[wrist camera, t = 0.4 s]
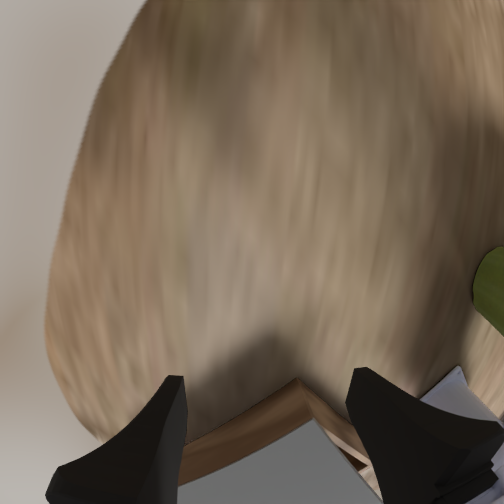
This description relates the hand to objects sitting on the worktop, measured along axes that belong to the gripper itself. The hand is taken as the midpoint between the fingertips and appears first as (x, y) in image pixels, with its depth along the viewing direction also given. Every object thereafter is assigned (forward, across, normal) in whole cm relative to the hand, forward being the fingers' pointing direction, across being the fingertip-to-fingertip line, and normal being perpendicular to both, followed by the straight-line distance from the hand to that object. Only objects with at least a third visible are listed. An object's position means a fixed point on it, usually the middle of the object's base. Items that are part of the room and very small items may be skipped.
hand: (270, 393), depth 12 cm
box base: (+10, -2, +17) cm, 20 cm away
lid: (+1, -1, +16) cm, 16 cm away
